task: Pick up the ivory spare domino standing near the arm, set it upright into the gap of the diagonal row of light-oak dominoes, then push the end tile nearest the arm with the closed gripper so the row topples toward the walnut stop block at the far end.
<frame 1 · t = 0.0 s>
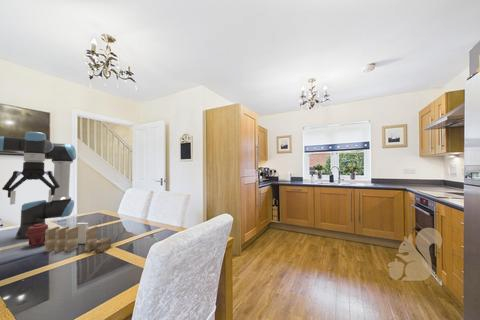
hand: (31, 202, 98), 28 cm above the table, fingers open, 13 cm apart
domino 3: (71, 249, 108), on the table
domino 5: (91, 249, 108), on the table
domino 2: (61, 249, 107), on the table
domino 1: (51, 249, 107), on the table
stop block: (102, 249, 108), on the table
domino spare: (81, 243, 117), on the table
red piece: (37, 245, 114), on the table
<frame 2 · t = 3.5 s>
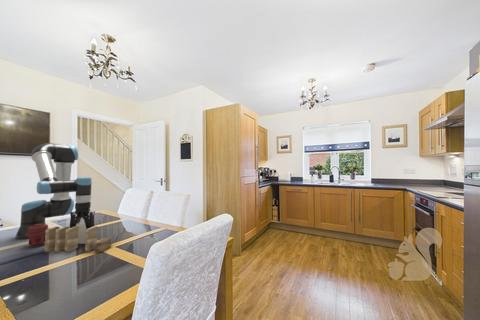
hand: (81, 239, 117), 2 cm above the table, fingers closed on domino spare, 6 cm apart
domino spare: (81, 242, 117), on the table, touching gripper
everything else where it was.
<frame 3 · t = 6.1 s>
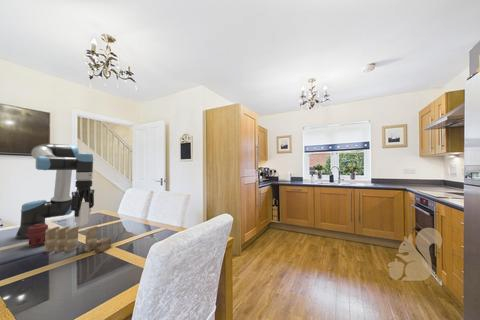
hand: (82, 220, 108), 16 cm above the table, fingers closed on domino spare, 6 cm apart
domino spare: (82, 224, 108), point 14 cm above the table, touching gripper
everything else where it was.
when the fingers open (2 cm above the table, at t = 8.8 s): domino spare stays where it is, on the table.
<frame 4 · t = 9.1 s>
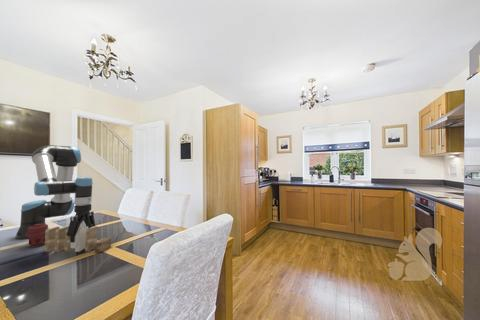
hand: (81, 244, 108), 3 cm above the table, fingers open, 10 cm apart
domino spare: (81, 249, 108), on the table
everything else where it was.
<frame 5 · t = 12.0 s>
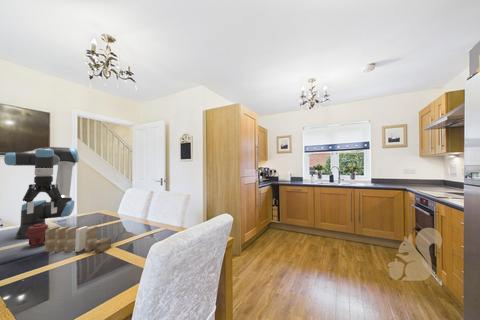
hand: (42, 213, 109), 20 cm above the table, fingers open, 12 cm apart
nothing on the table moved.
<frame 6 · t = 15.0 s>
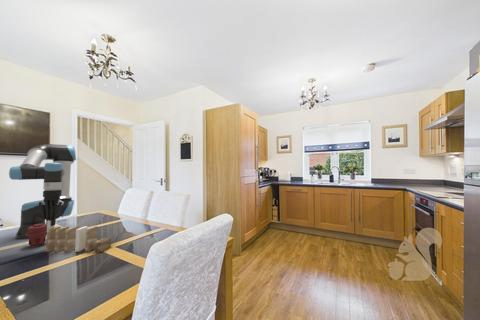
hand: (50, 231, 108), 10 cm above the table, fingers closed
domino 1: (51, 249, 107), on the table, touching gripper
everything else where it was.
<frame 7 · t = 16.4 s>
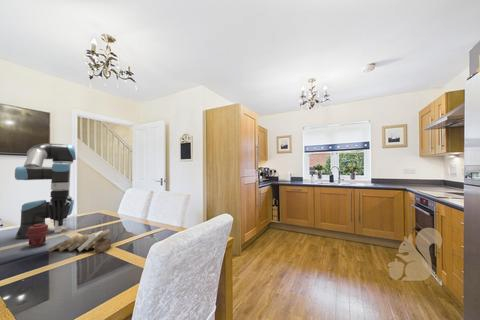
hand: (57, 231, 108), 10 cm above the table, fingers closed
domino 3: (73, 247, 108), point 1 cm above the table, tilted 56°, touching domino 2, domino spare
domino 5: (89, 246, 108), point 2 cm above the table, tilted 48°, touching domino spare, stop block
domino 2: (64, 248, 108), point 1 cm above the table, tilted 60°, touching domino 1, domino 3
domino 1: (54, 248, 107), point 1 cm above the table, tilted 63°, touching domino 2
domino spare: (82, 248, 108), point 1 cm above the table, tilted 48°, touching domino 3, domino 5
everything else where it was.
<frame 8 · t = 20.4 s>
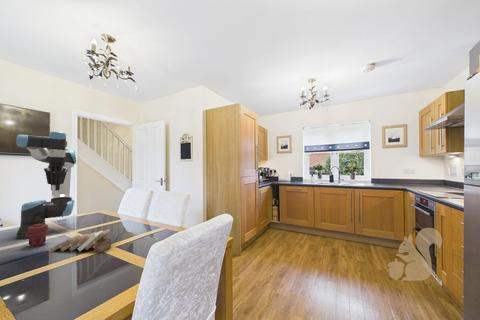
hand: (55, 195, 115), 29 cm above the table, fingers closed
domino 2: (66, 248, 108), point 1 cm above the table, tilted 57°, touching domino 1, domino 3
at the end: domino 5 tilted 48°; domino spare inside the target area (2.9 cm from its centre), point 0.7 cm above the table; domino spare tilted 48° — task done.
